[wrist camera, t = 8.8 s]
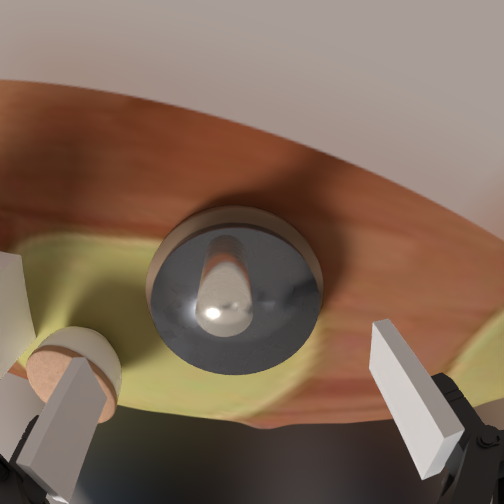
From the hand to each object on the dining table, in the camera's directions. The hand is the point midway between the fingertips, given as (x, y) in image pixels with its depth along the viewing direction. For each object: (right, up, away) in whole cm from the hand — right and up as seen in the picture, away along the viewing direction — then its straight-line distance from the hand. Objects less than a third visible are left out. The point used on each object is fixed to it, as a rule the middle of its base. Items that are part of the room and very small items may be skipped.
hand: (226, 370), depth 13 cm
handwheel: (0, +1, +16) cm, 16 cm away
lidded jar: (-18, -6, +21) cm, 28 cm away
